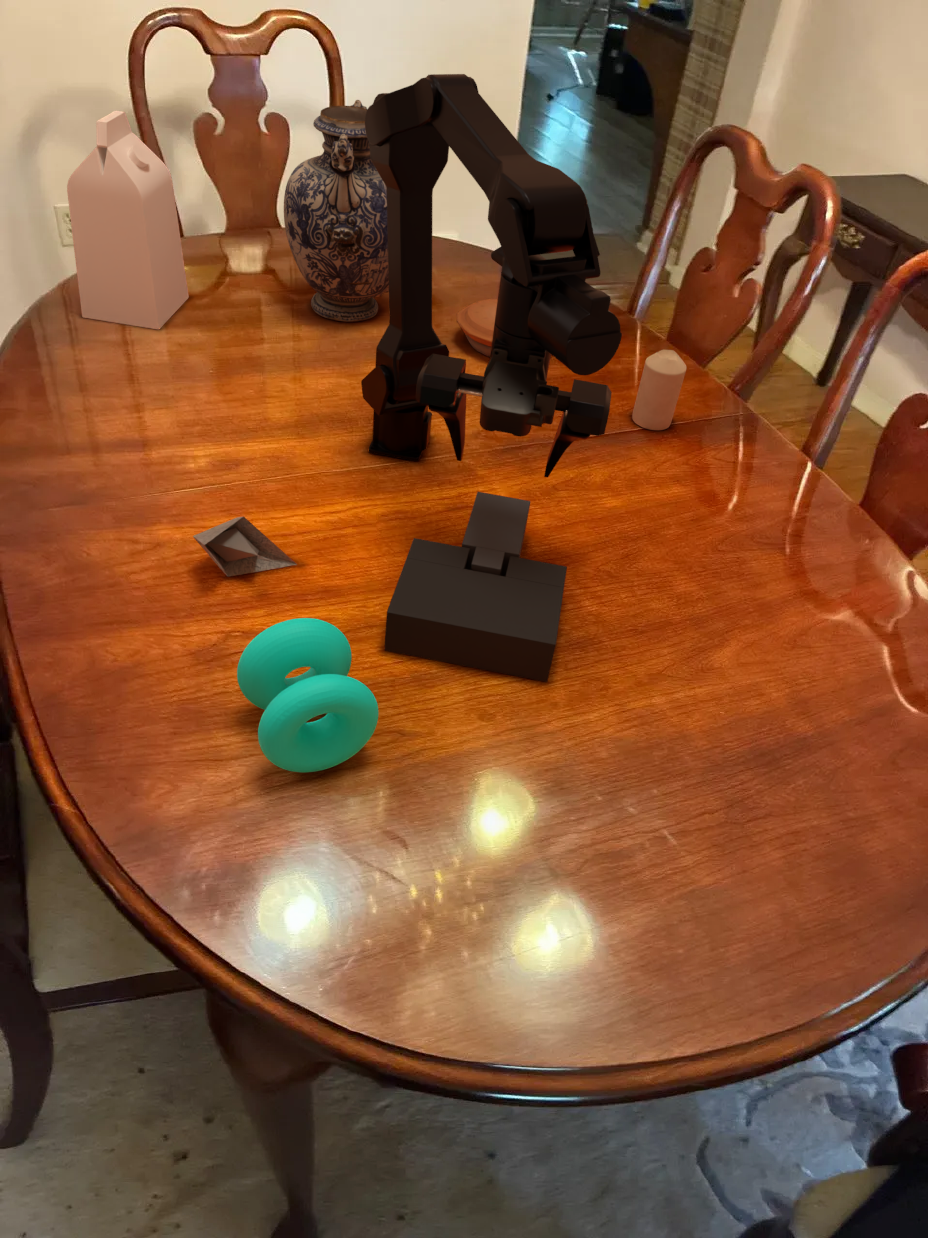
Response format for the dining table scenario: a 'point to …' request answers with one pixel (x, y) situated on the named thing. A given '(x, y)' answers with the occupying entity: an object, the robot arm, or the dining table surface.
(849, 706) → the dining table surface
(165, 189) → the milk
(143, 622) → the dining table surface
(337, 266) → the decorative vase
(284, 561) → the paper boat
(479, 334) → the pie
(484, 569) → the tongue pad
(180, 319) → the dining table surface
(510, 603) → the notch pad
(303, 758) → the donuts
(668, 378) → the candle
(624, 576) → the dining table surface
